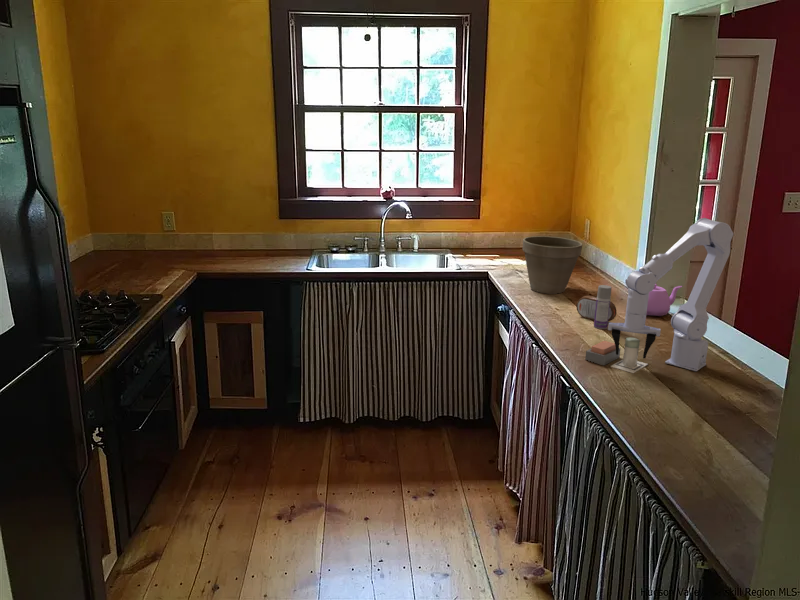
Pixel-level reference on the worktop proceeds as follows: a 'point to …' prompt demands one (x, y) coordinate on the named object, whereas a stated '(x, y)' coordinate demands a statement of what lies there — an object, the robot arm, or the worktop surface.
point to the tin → (592, 308)
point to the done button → (603, 347)
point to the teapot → (660, 301)
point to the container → (602, 307)
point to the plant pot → (550, 262)
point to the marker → (631, 352)
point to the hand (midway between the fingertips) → (630, 355)
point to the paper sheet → (629, 369)
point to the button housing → (602, 357)
